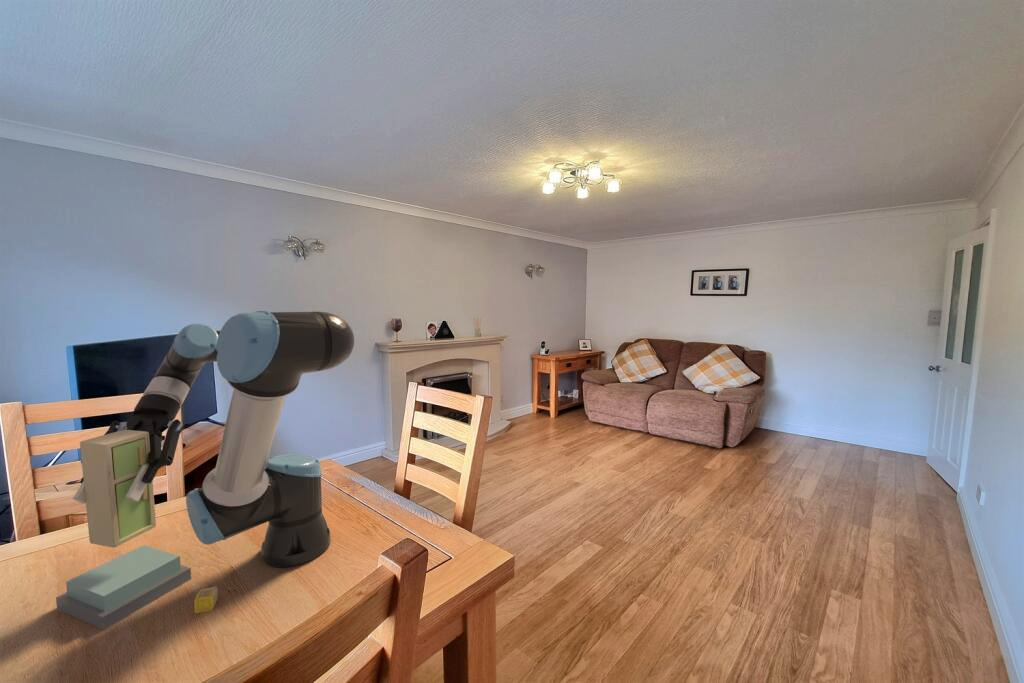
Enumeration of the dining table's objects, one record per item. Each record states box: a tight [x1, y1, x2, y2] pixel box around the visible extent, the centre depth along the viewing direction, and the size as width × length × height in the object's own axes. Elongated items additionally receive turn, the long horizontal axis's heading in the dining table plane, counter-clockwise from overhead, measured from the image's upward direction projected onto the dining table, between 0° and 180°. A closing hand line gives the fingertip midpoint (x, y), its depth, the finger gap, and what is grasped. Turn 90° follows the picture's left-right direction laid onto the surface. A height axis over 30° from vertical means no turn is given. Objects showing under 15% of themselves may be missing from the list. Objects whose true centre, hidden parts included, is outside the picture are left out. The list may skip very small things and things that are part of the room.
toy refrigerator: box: [79, 430, 157, 548], centre depth 83 cm, size 8×7×21 cm
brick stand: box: [55, 544, 192, 630], centre depth 84 cm, size 15×15×6 cm
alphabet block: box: [193, 586, 218, 614], centre depth 81 cm, size 3×3×3 cm
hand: (106, 500), depth 80 cm, fingers closed on toy refrigerator, 9 cm apart
